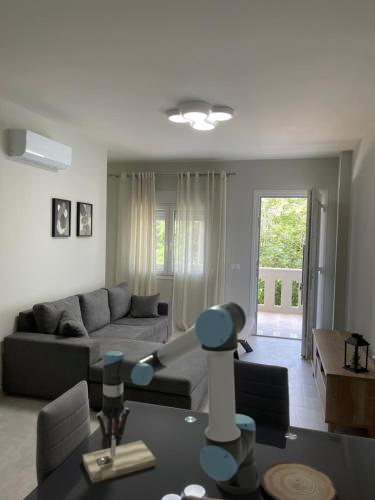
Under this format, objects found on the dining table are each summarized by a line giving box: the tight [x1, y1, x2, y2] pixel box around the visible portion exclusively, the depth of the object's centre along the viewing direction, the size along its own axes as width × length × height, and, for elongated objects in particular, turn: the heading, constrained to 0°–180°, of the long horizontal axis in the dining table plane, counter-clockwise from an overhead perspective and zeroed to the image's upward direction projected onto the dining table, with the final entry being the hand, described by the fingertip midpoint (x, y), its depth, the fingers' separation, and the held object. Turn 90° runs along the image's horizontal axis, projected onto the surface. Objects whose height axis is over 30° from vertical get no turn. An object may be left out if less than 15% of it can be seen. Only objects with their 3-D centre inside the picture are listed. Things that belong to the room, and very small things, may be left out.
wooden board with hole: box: [82, 439, 157, 484], centre depth 150 cm, size 15×24×2 cm, turn 118°
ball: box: [97, 458, 107, 466], centre depth 147 cm, size 4×4×4 cm
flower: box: [105, 417, 123, 439], centre depth 169 cm, size 10×9×8 cm
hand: (112, 454), depth 149 cm, fingers closed
